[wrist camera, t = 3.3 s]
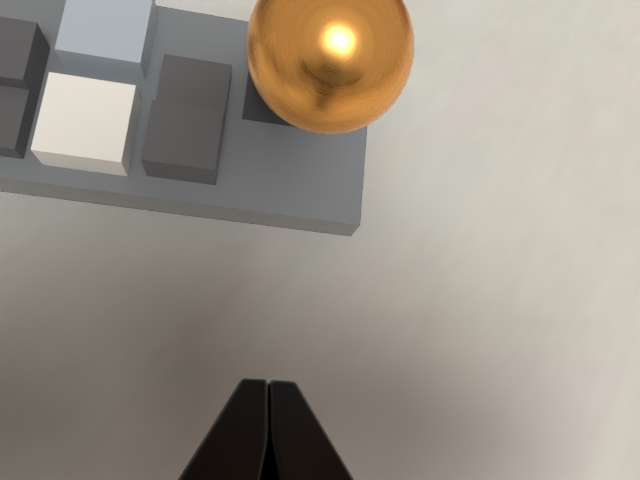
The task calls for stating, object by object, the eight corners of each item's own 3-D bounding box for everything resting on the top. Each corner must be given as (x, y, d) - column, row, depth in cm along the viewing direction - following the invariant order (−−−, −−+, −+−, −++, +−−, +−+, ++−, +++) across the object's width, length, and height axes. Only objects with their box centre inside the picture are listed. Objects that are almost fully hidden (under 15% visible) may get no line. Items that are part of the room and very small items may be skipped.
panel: (350, 236, 21) (369, 212, 18) (-199, 165, 18) (-274, 126, 16) (363, 65, 22) (383, 20, 20) (-134, -19, 20) (-192, -84, 17)
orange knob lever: (329, 112, 20) (414, 155, 9) (251, 100, 20) (231, 127, 8) (341, 30, 20) (453, -42, 8) (261, 16, 19) (255, -81, 8)
